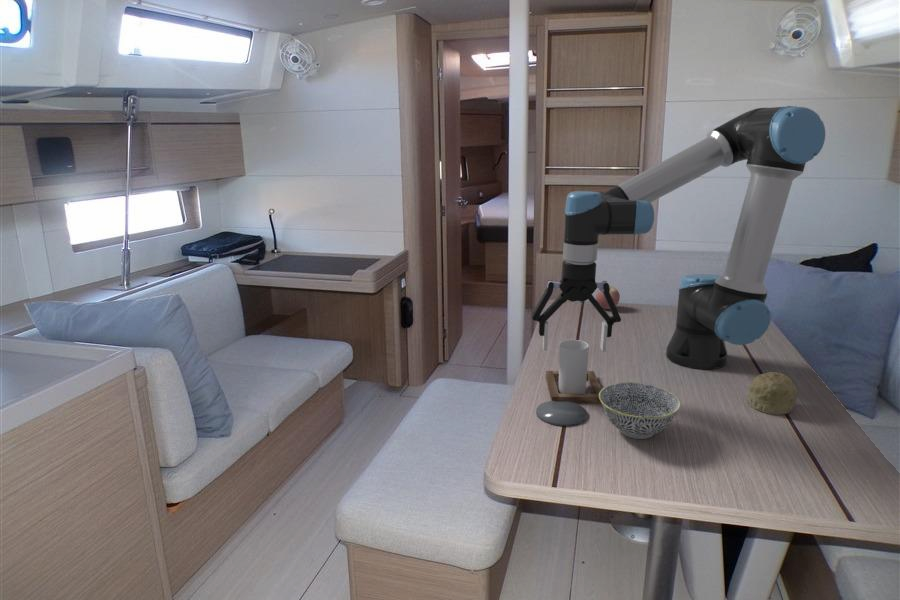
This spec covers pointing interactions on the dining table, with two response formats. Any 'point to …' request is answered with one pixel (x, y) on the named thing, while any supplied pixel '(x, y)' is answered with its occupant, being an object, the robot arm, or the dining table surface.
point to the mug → (573, 366)
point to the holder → (573, 397)
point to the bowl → (639, 408)
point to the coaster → (561, 413)
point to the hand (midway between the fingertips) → (573, 349)
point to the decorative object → (772, 393)
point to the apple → (602, 300)
